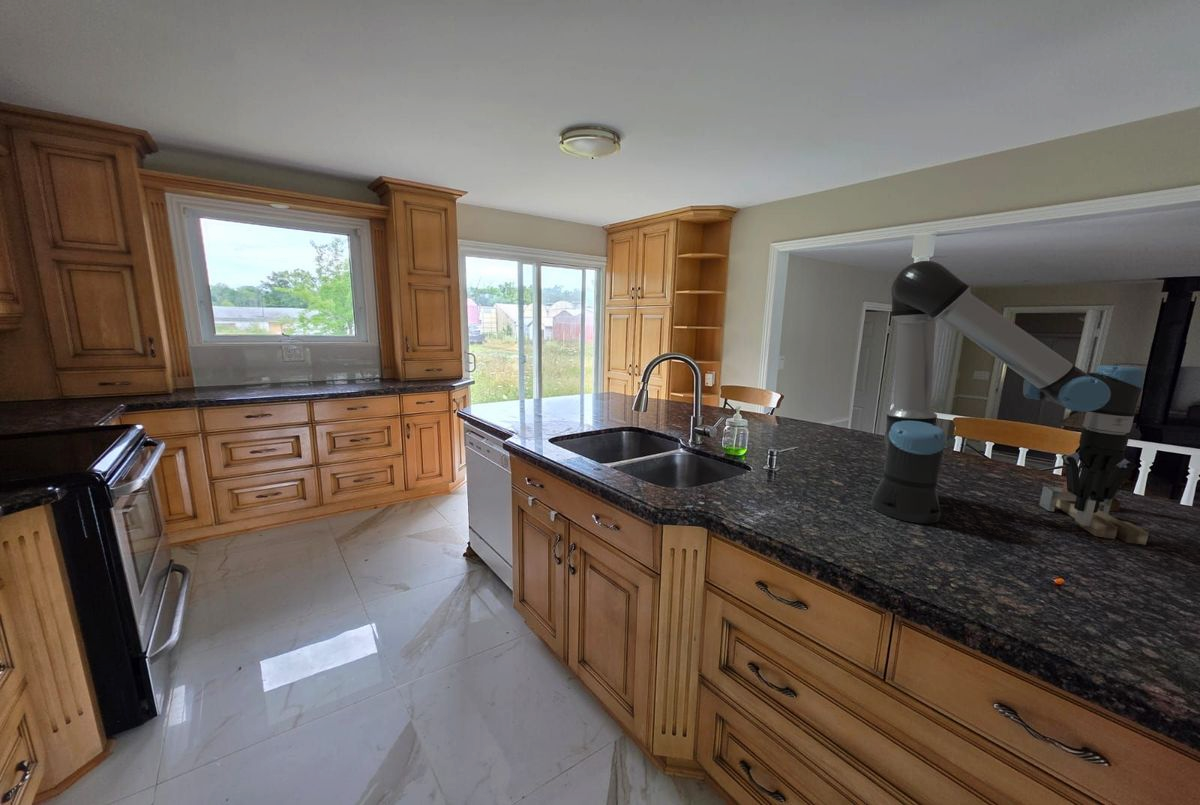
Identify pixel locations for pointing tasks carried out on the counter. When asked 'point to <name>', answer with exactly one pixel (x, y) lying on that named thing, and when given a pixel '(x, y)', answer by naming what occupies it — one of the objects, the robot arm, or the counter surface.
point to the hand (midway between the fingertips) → (1082, 523)
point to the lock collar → (1065, 498)
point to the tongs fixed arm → (1126, 530)
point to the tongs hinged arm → (1097, 524)
